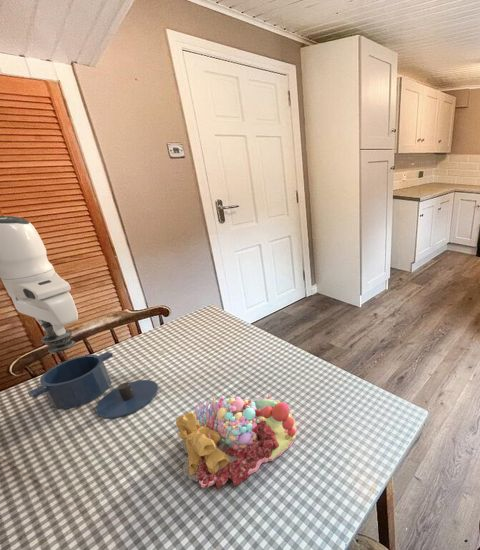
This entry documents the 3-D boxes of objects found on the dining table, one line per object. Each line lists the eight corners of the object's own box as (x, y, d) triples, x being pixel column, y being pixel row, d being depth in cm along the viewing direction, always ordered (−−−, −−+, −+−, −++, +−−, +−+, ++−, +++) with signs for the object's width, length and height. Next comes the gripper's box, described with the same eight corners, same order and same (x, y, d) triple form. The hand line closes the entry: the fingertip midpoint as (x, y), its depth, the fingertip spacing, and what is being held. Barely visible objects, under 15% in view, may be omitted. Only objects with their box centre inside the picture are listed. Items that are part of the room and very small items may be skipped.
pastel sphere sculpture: (208, 516, 57) (198, 483, 53) (164, 443, 71) (154, 413, 67) (312, 430, 74) (309, 401, 71) (260, 385, 88) (255, 359, 85)
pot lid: (85, 411, 80) (78, 396, 78) (138, 378, 92) (132, 364, 90) (119, 427, 75) (112, 411, 73) (169, 390, 87) (165, 375, 85)
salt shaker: (74, 338, 84) (57, 299, 79) (79, 345, 80) (61, 305, 76) (44, 347, 80) (25, 307, 75) (48, 356, 76) (28, 314, 72)
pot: (29, 410, 80) (15, 385, 77) (104, 368, 96) (95, 346, 93) (56, 424, 76) (43, 398, 73) (131, 378, 92) (122, 355, 88)
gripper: (-8, 282, 74) (17, 330, 79) (39, 295, 67) (63, 347, 72) (27, 273, 79) (48, 319, 85) (73, 284, 72) (93, 333, 78)
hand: (55, 332), depth 78 cm, fingers closed on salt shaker, 3 cm apart
